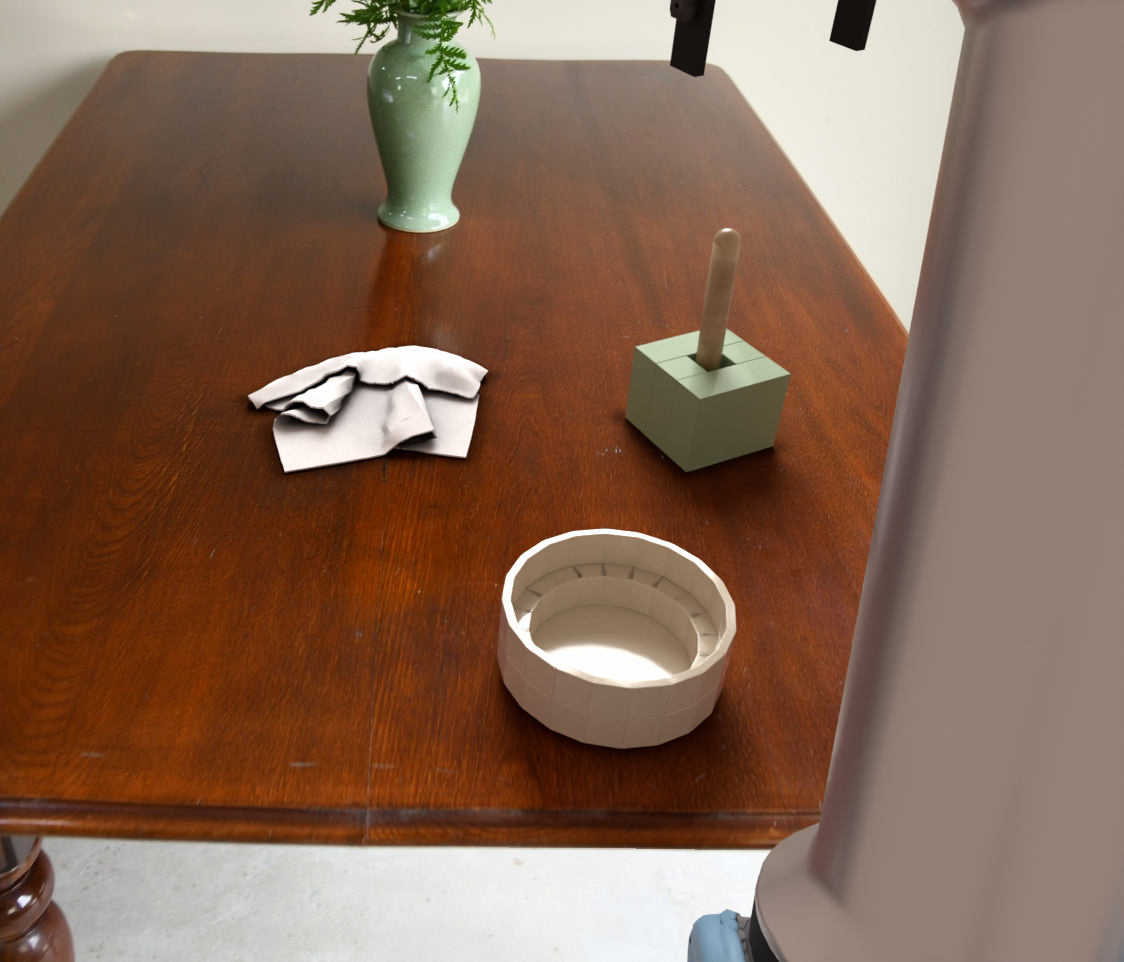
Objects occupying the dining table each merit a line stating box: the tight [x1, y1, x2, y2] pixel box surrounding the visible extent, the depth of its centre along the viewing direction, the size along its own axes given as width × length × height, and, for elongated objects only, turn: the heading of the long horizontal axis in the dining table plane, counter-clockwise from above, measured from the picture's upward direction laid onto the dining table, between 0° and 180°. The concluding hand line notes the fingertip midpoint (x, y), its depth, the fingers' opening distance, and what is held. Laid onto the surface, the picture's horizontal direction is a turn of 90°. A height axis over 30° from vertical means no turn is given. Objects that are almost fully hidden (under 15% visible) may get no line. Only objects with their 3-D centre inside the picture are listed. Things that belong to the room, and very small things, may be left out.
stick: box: [695, 227, 742, 372], centre depth 90 cm, size 2×2×18 cm
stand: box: [624, 328, 792, 473], centre depth 93 cm, size 9×9×7 cm
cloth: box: [247, 345, 489, 474], centre depth 97 cm, size 20×22×2 cm
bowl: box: [496, 528, 738, 750], centre depth 71 cm, size 14×14×6 cm
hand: (768, 58), depth 77 cm, fingers open, 13 cm apart
